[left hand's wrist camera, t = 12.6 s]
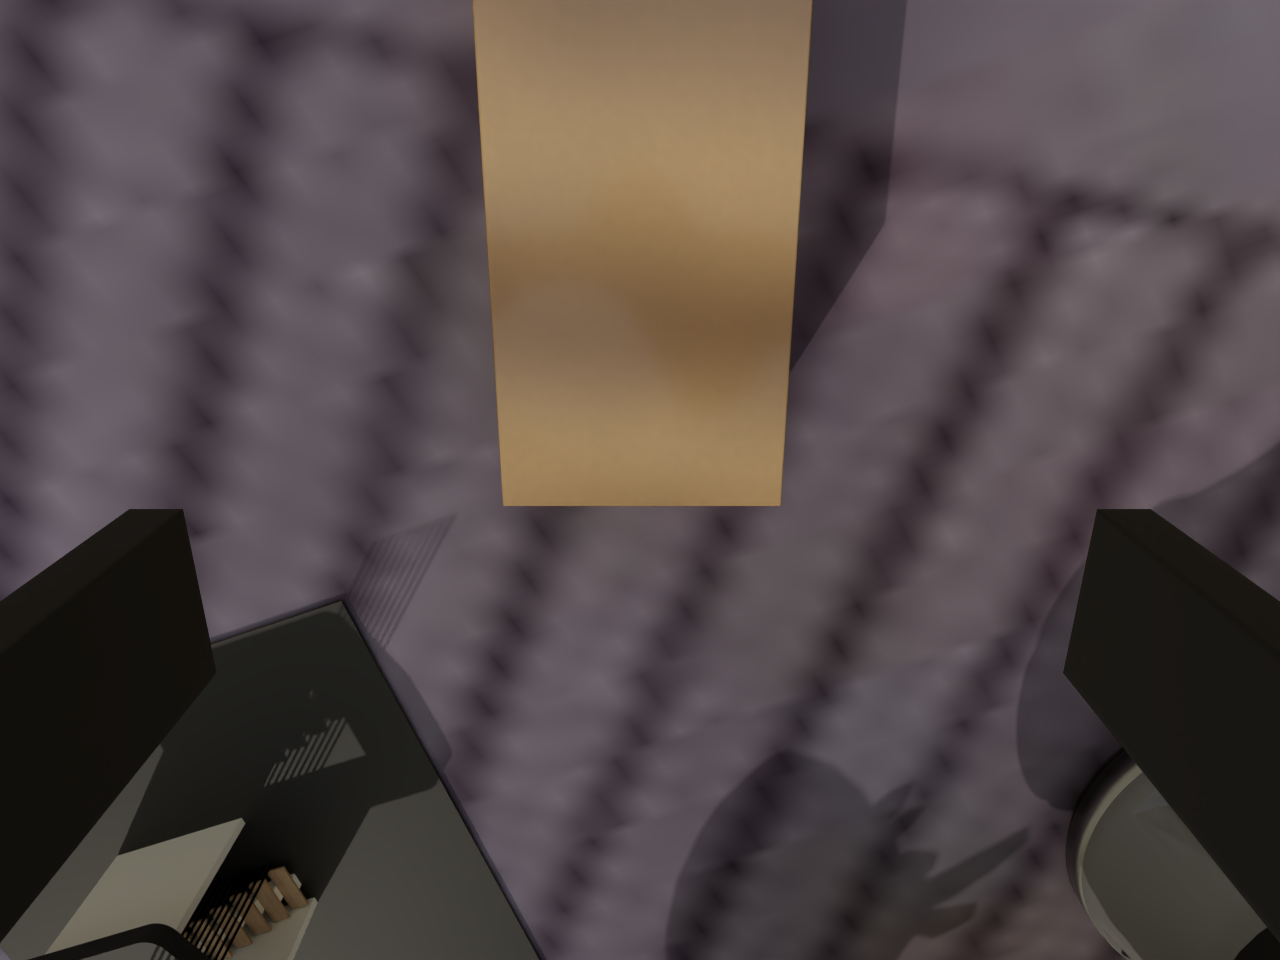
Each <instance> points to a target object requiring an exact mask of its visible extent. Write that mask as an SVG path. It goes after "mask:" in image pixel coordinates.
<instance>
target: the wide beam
mask: <svg viewBox="0 0 1280 960" xmlns="http://www.w3.org/2000/svg"><path fill="white" fill-rule="evenodd" d="M472 7H473V23H474V39H475V55H476V72H477V88H478V104H479V121H480V137H481V153H482V170H483V186H484V202H485V219H486V235H487V251H488V268H489V284H490V300H491V317H492V333H493V349H494V366H495V382H496V398H497V414H498V431H499V447H500V463H501V480H502V496H503V505H504V506H780V505H781V493H782V477H783V462H784V446H785V431H786V415H787V399H788V384H789V368H790V353H791V337H792V321H793V306H794V290H795V275H796V259H797V243H798V228H799V212H800V197H801V181H802V165H803V150H804V134H805V119H806V103H807V87H808V72H809V56H810V41H811V25H812V9H813V0H472Z"/></svg>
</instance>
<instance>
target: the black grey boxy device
mask: <svg viewBox="0 0 1280 960" xmlns="http://www.w3.org/2000/svg"><path fill="white" fill-rule="evenodd" d="M211 648H212V653H213V657H214V662H215V667H216V672H217V673H216V674H215V676H214V677H213V678H212V679H211V681H210V682H209V683H208V684H207V686H206V687H205V688H204V689H203V691H202V692H201V693H200V694H199V696H198V697H197V698H196V699H195V701H194V702H193V703H192V704H191V706H190V707H189V708H188V709H187V711H186V712H185V713H184V714H183V716H182V717H181V718H180V719H179V721H178V722H177V723H176V724H175V726H174V727H173V728H172V729H171V731H170V732H169V733H168V734H167V736H166V737H165V738H164V739H163V741H162V742H161V743H160V744H159V746H158V747H157V748H156V749H155V751H154V752H153V753H152V754H151V756H150V757H149V758H148V759H147V761H146V762H145V763H144V764H143V766H142V767H141V768H140V769H139V771H138V772H137V773H136V774H135V776H134V777H133V778H132V779H131V780H130V782H129V783H128V784H127V785H126V787H125V788H124V789H123V790H122V792H121V793H120V794H119V795H118V797H117V798H116V799H115V800H114V802H113V803H112V804H111V805H110V807H109V808H108V809H107V810H106V812H105V813H104V814H103V815H102V817H101V818H100V819H99V820H98V822H97V823H96V824H95V825H94V827H93V828H92V829H91V830H90V832H89V833H88V834H87V835H86V837H85V838H84V839H83V840H82V842H81V843H80V844H79V845H78V847H77V848H76V849H75V850H74V852H73V853H72V854H71V855H70V857H69V858H68V859H67V860H66V862H65V863H64V864H63V865H62V867H61V868H60V869H59V870H58V872H57V873H56V874H55V875H54V877H53V878H52V879H51V880H50V882H49V883H48V884H47V885H46V887H45V888H44V889H43V890H42V892H41V893H40V894H39V895H38V897H37V898H36V899H35V900H34V902H33V903H32V904H31V905H30V907H29V908H28V909H27V910H26V912H25V913H24V914H23V915H22V917H21V918H20V919H19V920H18V922H17V923H16V924H15V925H14V927H13V928H12V929H11V930H10V932H9V933H8V934H7V935H6V937H5V938H4V939H3V940H2V941H1V943H0V947H1V949H2V950H3V951H4V952H5V953H6V954H7V956H8V957H9V958H10V959H11V960H539V958H538V957H537V955H536V953H535V951H534V949H533V947H532V946H531V944H530V942H529V940H528V938H527V937H526V935H525V933H524V931H523V929H522V928H521V926H520V924H519V922H518V920H517V918H516V917H515V915H514V913H513V911H512V909H511V908H510V906H509V904H508V902H507V900H506V899H505V897H504V895H503V893H502V891H501V889H500V888H499V886H498V884H497V882H496V880H495V879H494V877H493V875H492V873H491V871H490V870H489V868H488V866H487V864H486V862H485V861H484V859H483V857H482V855H481V853H480V851H479V850H478V848H477V846H476V844H475V842H474V841H473V839H472V837H471V835H470V833H469V832H468V830H467V828H466V826H465V824H464V822H463V821H462V819H461V817H460V815H459V813H458V812H457V810H456V808H455V806H454V804H453V803H452V801H451V799H450V797H449V795H448V793H447V792H446V790H445V788H444V786H443V784H442V783H441V781H440V779H439V777H438V775H437V774H436V772H435V770H434V768H433V766H432V764H431V763H430V761H429V759H428V757H427V755H426V754H425V752H424V750H423V748H422V746H421V745H420V743H419V741H418V739H417V737H416V736H415V734H414V732H413V730H412V728H411V726H410V725H409V723H408V721H407V719H406V717H405V716H404V714H403V712H402V710H401V708H400V707H399V705H398V703H397V701H396V699H395V697H394V696H393V694H392V692H391V690H390V688H389V687H388V685H387V683H386V681H385V679H384V678H383V676H382V674H381V672H380V670H379V668H378V667H377V665H376V663H375V661H374V659H373V658H372V656H371V654H370V652H369V650H368V649H367V647H366V645H365V643H364V641H363V640H362V638H361V636H360V634H359V632H358V630H357V629H356V627H355V625H354V623H353V621H352V620H351V618H350V616H349V614H348V612H347V611H346V609H345V607H344V605H343V603H342V601H340V602H337V603H334V604H331V605H328V606H325V607H322V608H319V609H316V610H313V611H310V612H307V613H304V614H301V615H298V616H295V617H292V618H289V619H286V620H283V621H280V622H277V623H274V624H271V625H268V626H265V627H262V628H259V629H256V630H253V631H250V632H247V633H244V634H241V635H238V636H235V637H232V638H229V639H226V640H223V641H220V642H217V643H214V644H211Z"/></svg>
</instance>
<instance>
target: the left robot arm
mask: <svg viewBox="0 0 1280 960" xmlns="http://www.w3.org/2000/svg"><path fill="white" fill-rule="evenodd" d="M216 673H217V672H216V667H215V662H214V657H213V653H212V648H211V643H210V638H209V633H208V628H207V624H206V619H205V614H204V609H203V604H202V599H201V595H200V590H199V585H198V580H197V575H196V570H195V566H194V561H193V556H192V551H191V546H190V541H189V537H188V532H187V527H186V522H185V517H184V512H183V509H129V510H128V511H126V512H125V513H123V514H122V515H121V516H119V517H118V518H116V519H115V520H114V521H112V522H111V523H109V524H108V525H107V526H105V527H104V528H102V529H101V530H100V531H98V532H97V533H95V534H94V535H93V536H91V537H90V538H88V539H87V540H86V541H84V542H83V543H81V544H80V545H79V546H77V547H76V548H74V549H73V550H72V551H70V552H69V553H67V554H66V555H65V556H63V557H62V558H60V559H59V560H58V561H56V562H55V563H53V564H52V565H51V566H49V567H48V568H46V569H45V570H44V571H42V572H41V573H39V574H38V575H37V576H35V577H34V578H32V579H31V580H30V581H28V582H27V583H25V584H24V585H23V586H21V587H20V588H18V589H17V590H16V591H14V592H13V593H11V594H10V595H9V596H7V597H6V598H4V599H3V600H2V601H0V943H1V941H2V940H3V939H4V938H5V937H6V935H7V934H8V933H9V932H10V930H11V929H12V928H13V927H14V925H15V924H16V923H17V922H18V920H19V919H20V918H21V917H22V915H23V914H24V913H25V912H26V910H27V909H28V908H29V907H30V905H31V904H32V903H33V902H34V900H35V899H36V898H37V897H38V895H39V894H40V893H41V892H42V890H43V889H44V888H45V887H46V885H47V884H48V883H49V882H50V880H51V879H52V878H53V877H54V875H55V874H56V873H57V872H58V870H59V869H60V868H61V867H62V865H63V864H64V863H65V862H66V860H67V859H68V858H69V857H70V855H71V854H72V853H73V852H74V850H75V849H76V848H77V847H78V845H79V844H80V843H81V842H82V840H83V839H84V838H85V837H86V835H87V834H88V833H89V832H90V830H91V829H92V828H93V827H94V825H95V824H96V823H97V822H98V820H99V819H100V818H101V817H102V815H103V814H104V813H105V812H106V810H107V809H108V808H109V807H110V805H111V804H112V803H113V802H114V800H115V799H116V798H117V797H118V795H119V794H120V793H121V792H122V790H123V789H124V788H125V787H126V785H127V784H128V783H129V782H130V780H131V779H132V778H133V777H134V776H135V774H136V773H137V772H138V771H139V769H140V768H141V767H142V766H143V764H144V763H145V762H146V761H147V759H148V758H149V757H150V756H151V754H152V753H153V752H154V751H155V749H156V748H157V747H158V746H159V744H160V743H161V742H162V741H163V739H164V738H165V737H166V736H167V734H168V733H169V732H170V731H171V729H172V728H173V727H174V726H175V724H176V723H177V722H178V721H179V719H180V718H181V717H182V716H183V714H184V713H185V712H186V711H187V709H188V708H189V707H190V706H191V704H192V703H193V702H194V701H195V699H196V698H197V697H198V696H199V694H200V693H201V692H202V691H203V689H204V688H205V687H206V686H207V684H208V683H209V682H210V681H211V679H212V678H213V677H214V676H215V674H216ZM1063 673H1064V674H1065V676H1066V677H1067V678H1068V679H1069V681H1070V682H1071V683H1072V684H1073V686H1074V687H1075V688H1076V689H1077V691H1078V692H1079V693H1080V694H1081V696H1082V697H1083V698H1084V699H1085V701H1086V702H1087V703H1088V704H1089V706H1090V707H1091V708H1092V709H1093V711H1094V712H1095V713H1096V714H1097V716H1098V717H1099V718H1100V719H1101V721H1102V722H1103V723H1104V724H1105V726H1106V727H1107V728H1108V729H1109V731H1110V732H1111V733H1112V734H1113V736H1114V737H1115V738H1116V739H1117V741H1118V742H1119V743H1120V744H1121V746H1122V747H1123V748H1124V749H1125V750H1124V751H1123V752H1121V753H1120V754H1119V755H1118V756H1117V757H1116V758H1115V759H1113V760H1112V761H1111V762H1110V763H1109V764H1108V765H1107V766H1106V767H1105V768H1104V769H1103V770H1102V771H1101V773H1100V774H1099V775H1098V776H1097V778H1096V779H1095V780H1094V781H1093V782H1092V784H1091V785H1090V787H1089V788H1088V790H1087V791H1086V792H1085V794H1084V795H1083V797H1082V799H1081V801H1080V803H1079V805H1078V806H1077V808H1076V811H1075V813H1074V816H1073V818H1072V821H1071V824H1070V828H1069V831H1068V836H1067V842H1066V865H1067V871H1068V875H1069V879H1070V882H1071V885H1072V887H1073V890H1074V891H1075V893H1076V895H1077V897H1078V899H1079V900H1080V902H1081V904H1082V906H1083V907H1084V909H1085V911H1086V912H1087V914H1088V916H1089V918H1090V919H1091V921H1092V923H1093V924H1094V926H1095V927H1096V928H1097V930H1098V931H1099V932H1100V934H1101V935H1102V936H1103V937H1104V938H1105V939H1106V940H1107V941H1108V942H1109V944H1110V945H1111V946H1112V947H1113V948H1114V949H1115V950H1116V951H1117V952H1118V953H1119V954H1121V955H1122V956H1123V957H1124V958H1126V959H1127V960H1280V601H1278V600H1277V599H1276V598H1274V597H1273V596H1271V595H1270V594H1269V593H1267V592H1266V591H1264V590H1263V589H1262V588H1260V587H1259V586H1257V585H1256V584H1255V583H1253V582H1252V581H1250V580H1249V579H1248V578H1246V577H1245V576H1243V575H1242V574H1241V573H1239V572H1238V571H1236V570H1235V569H1234V568H1232V567H1231V566H1229V565H1228V564H1227V563H1225V562H1224V561H1222V560H1221V559H1220V558H1218V557H1217V556H1215V555H1214V554H1213V553H1211V552H1210V551H1208V550H1207V549H1206V548H1204V547H1203V546H1201V545H1200V544H1199V543H1197V542H1196V541H1194V540H1193V539H1192V538H1190V537H1189V536H1187V535H1186V534H1185V533H1183V532H1182V531H1180V530H1179V529H1178V528H1176V527H1175V526H1173V525H1172V524H1171V523H1169V522H1168V521H1166V520H1165V519H1164V518H1162V517H1161V516H1159V515H1158V514H1157V513H1155V512H1154V511H1152V510H1151V509H1097V512H1096V517H1095V522H1094V527H1093V532H1092V537H1091V541H1090V546H1089V551H1088V556H1087V561H1086V566H1085V570H1084V575H1083V580H1082V585H1081V590H1080V595H1079V599H1078V604H1077V609H1076V614H1075V619H1074V624H1073V628H1072V633H1071V638H1070V643H1069V648H1068V653H1067V657H1066V662H1065V667H1064V672H1063Z"/></svg>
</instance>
